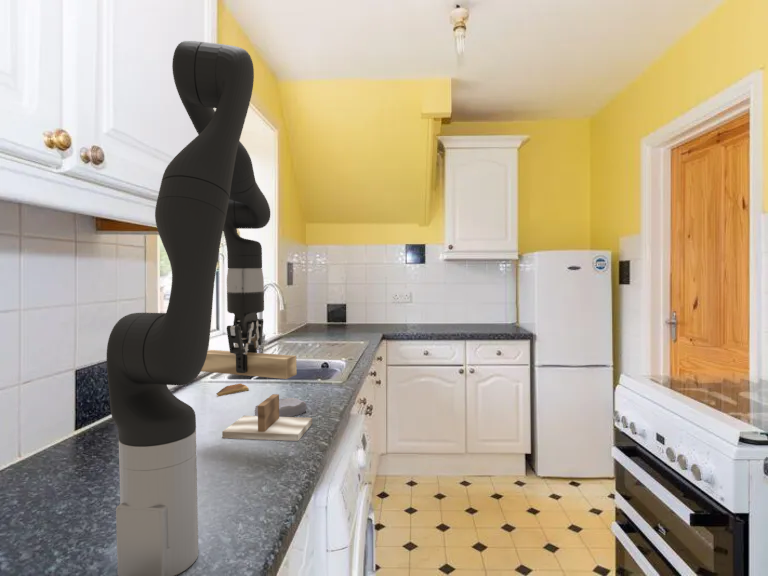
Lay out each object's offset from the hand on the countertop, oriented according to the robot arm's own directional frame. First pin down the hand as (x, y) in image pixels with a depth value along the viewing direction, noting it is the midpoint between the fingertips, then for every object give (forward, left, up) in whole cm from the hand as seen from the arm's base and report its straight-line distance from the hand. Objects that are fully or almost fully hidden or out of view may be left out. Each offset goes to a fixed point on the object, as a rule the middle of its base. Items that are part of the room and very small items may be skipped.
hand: (247, 369), depth 101 cm
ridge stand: (+13, 0, -18) cm, 22 cm away
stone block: (+26, +2, -18) cm, 31 cm away
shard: (+47, +24, -18) cm, 56 cm away
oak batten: (0, 0, -1) cm, 1 cm away
